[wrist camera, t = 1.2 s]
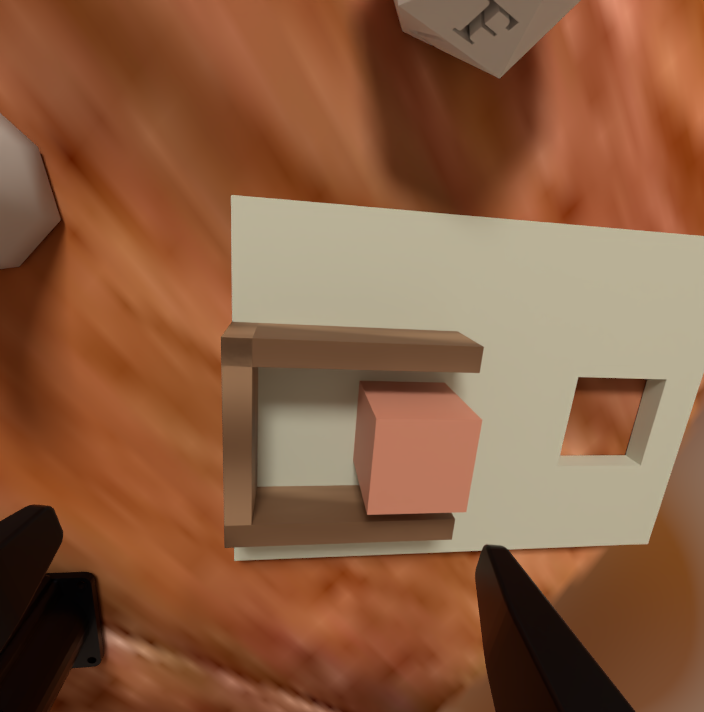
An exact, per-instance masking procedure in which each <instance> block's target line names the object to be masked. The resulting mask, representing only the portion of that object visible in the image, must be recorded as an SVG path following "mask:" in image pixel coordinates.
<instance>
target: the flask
mask: <svg viewBox="0 0 704 712" xmlns="http://www.w3.org/2000/svg"><path fill="white" fill-rule="evenodd" d="M60 220H61V218H60V215H59V212H58V209H57V206H56V202H55V199H54V196H53V193H52V190H51V187H50V183H49V180H48V177H47V174H46V171H45V168H44V164H43V161H42V158H41V155H40V152H39V148H38V147H37V146H36V145H35V144H34V143H33V142H32V141H31V140H30V139H28V138H27V137H26V136H25V135H24V134H23V133H22V132H21V131H20V130H18V129H17V128H16V127H15V126H14V125H13V124H12V123H11V122H10V121H8V120H7V119H6V118H5V117H4V116H3V115H2V114H1V113H0V269H5V268H13V267H19V266H20V265H21V264H22V263H23V262H24V261H25V260H26V259H27V257H28V256H29V255H30V254H31V253H32V252H33V251H34V250H35V248H36V247H37V246H38V245H39V244H40V243H41V242H42V241H43V239H44V238H45V237H46V236H47V235H48V234H49V233H50V231H51V230H52V229H53V228H54V227H55V226H56V225H57V224H58V222H59V221H60Z"/></svg>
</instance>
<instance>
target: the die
mask: <svg viewBox="0 0 704 712" xmlns="http://www.w3.org/2000/svg"><path fill="white" fill-rule="evenodd" d="M579 1H580V0H394V3H395V7H396V11H397V14H398V18H399V21H400V25H401V28H402V31H403V32H405V33H407V34H409V35H411V36H413V37H415V38H417V39H419V40H421V41H423V42H425V43H427V44H429V45H431V46H432V45H433V46H435V47H436V48H438V49H440V50H442V51H444V52H446V53H448V54H450V55H452V56H454V57H456V58H458V59H460V60H462V61H464V62H466V63H468V64H470V65H473V66H475V67H477V68H479V69H481V70H483V71H485V72H487V73H489V74H491V75H493V76H495V77H497V78H499V79H500V78H501V77H502V76H503V75H504V74H505V73H506V72H507V71H508V70H509V69H510V68H511V67H512V66H513V65H514V64H515V63H516V62H517V61H518V60H519V59H520V58H522V57H523V56H524V55H525V54H526V53H527V52H528V51H529V50H530V49H531V48H532V47H533V46H534V45H535V44H536V43H537V42H538V41H539V40H540V39H541V38H542V37H543V36H544V35H545V34H546V33H547V32H548V31H549V30H550V29H552V28H553V27H554V26H555V25H556V24H557V23H558V22H559V21H560V20H561V19H562V18H563V17H564V16H565V15H566V14H567V13H568V12H569V11H570V10H571V9H572V8H573V7H574V6H575V5H576V4H577V3H578V2H579Z"/></svg>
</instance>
